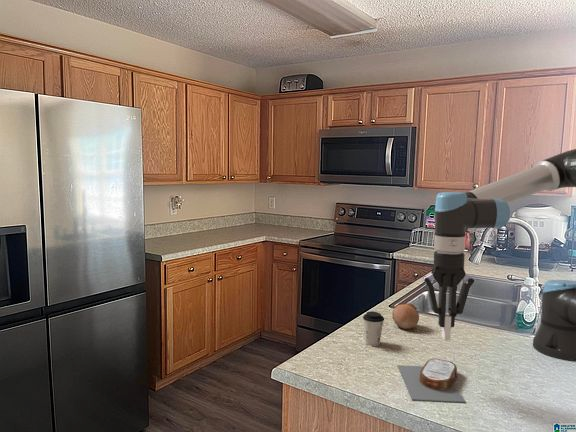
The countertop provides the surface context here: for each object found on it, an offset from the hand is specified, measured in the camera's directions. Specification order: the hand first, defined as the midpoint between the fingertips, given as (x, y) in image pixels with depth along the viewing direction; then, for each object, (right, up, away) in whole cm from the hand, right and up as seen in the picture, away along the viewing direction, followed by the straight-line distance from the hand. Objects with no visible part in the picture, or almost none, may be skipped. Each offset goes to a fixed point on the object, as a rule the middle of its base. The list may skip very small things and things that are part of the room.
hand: (445, 338), depth 115 cm
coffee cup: (-14, -10, +28) cm, 33 cm away
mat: (-4, -12, +1) cm, 13 cm away
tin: (+3, -11, +2) cm, 11 cm away
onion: (+1, -8, +43) cm, 44 cm away
